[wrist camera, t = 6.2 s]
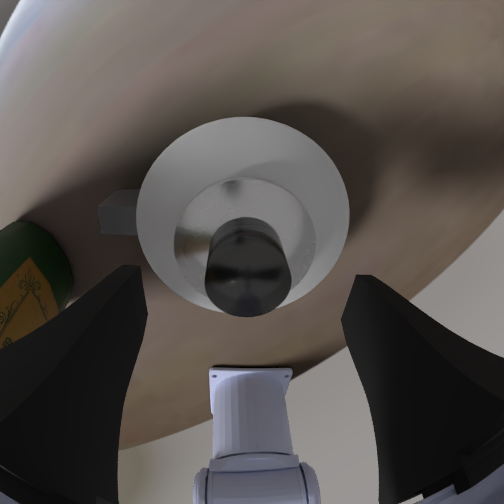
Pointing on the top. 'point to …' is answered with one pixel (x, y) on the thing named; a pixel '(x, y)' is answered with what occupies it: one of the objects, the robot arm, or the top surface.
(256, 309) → the knobbed lid
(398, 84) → the top surface
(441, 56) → the top surface
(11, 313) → the bottle
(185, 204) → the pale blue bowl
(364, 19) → the top surface
